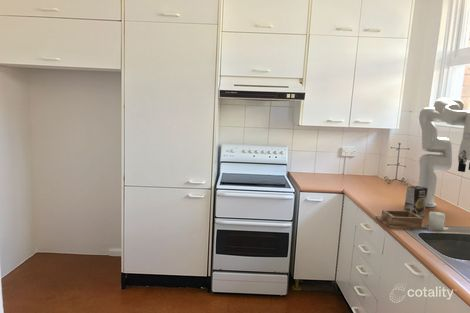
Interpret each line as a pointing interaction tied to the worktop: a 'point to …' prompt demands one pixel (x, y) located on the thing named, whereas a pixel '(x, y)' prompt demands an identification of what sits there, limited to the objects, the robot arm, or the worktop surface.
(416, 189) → the coffee box
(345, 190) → the worktop surface
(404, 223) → the tray
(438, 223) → the white rounded cylinder
